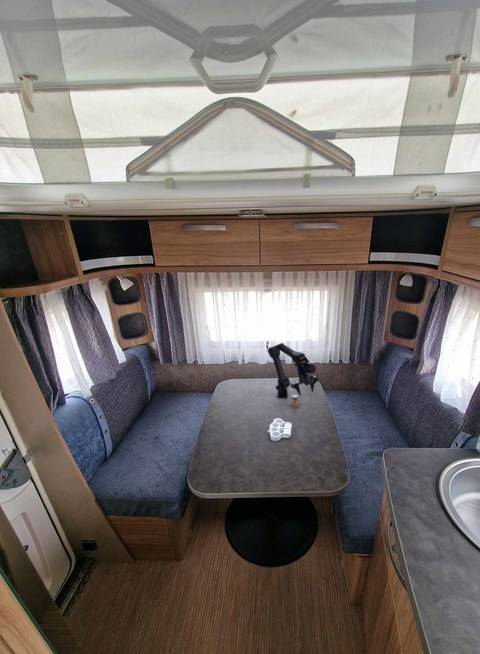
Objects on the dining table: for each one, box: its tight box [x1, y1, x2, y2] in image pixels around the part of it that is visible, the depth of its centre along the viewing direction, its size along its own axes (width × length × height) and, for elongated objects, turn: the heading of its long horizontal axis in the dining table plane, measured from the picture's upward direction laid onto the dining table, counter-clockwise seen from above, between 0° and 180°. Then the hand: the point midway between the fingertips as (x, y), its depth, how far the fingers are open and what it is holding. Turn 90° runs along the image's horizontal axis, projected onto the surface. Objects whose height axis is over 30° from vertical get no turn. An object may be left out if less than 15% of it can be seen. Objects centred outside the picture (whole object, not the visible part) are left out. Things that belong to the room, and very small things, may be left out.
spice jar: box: [291, 394, 299, 408], centre depth 199 cm, size 5×5×8 cm
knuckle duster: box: [266, 417, 293, 442], centre depth 175 cm, size 3×18×15 cm
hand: (306, 393), depth 193 cm, fingers open, 9 cm apart
